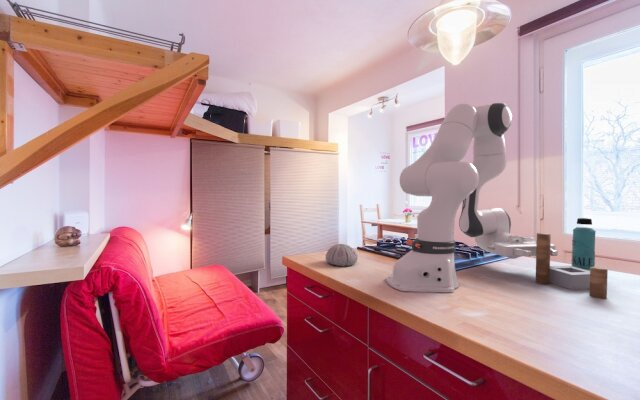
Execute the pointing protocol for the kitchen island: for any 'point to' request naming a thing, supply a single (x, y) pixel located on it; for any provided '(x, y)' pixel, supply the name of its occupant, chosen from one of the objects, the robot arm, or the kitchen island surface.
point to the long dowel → (543, 258)
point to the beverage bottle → (583, 245)
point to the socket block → (570, 277)
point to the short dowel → (598, 282)
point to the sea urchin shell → (341, 255)
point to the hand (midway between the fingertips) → (542, 253)
